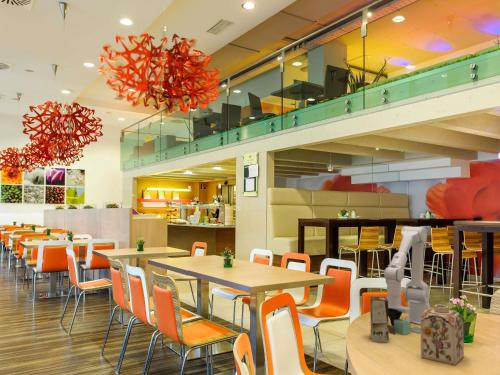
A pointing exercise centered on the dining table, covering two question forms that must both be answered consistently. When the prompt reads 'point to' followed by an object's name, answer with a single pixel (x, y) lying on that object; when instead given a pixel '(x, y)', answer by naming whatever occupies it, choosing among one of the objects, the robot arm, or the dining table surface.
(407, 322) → the block
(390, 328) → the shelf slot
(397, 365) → the dining table surface
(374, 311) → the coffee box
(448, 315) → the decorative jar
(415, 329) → the mat
